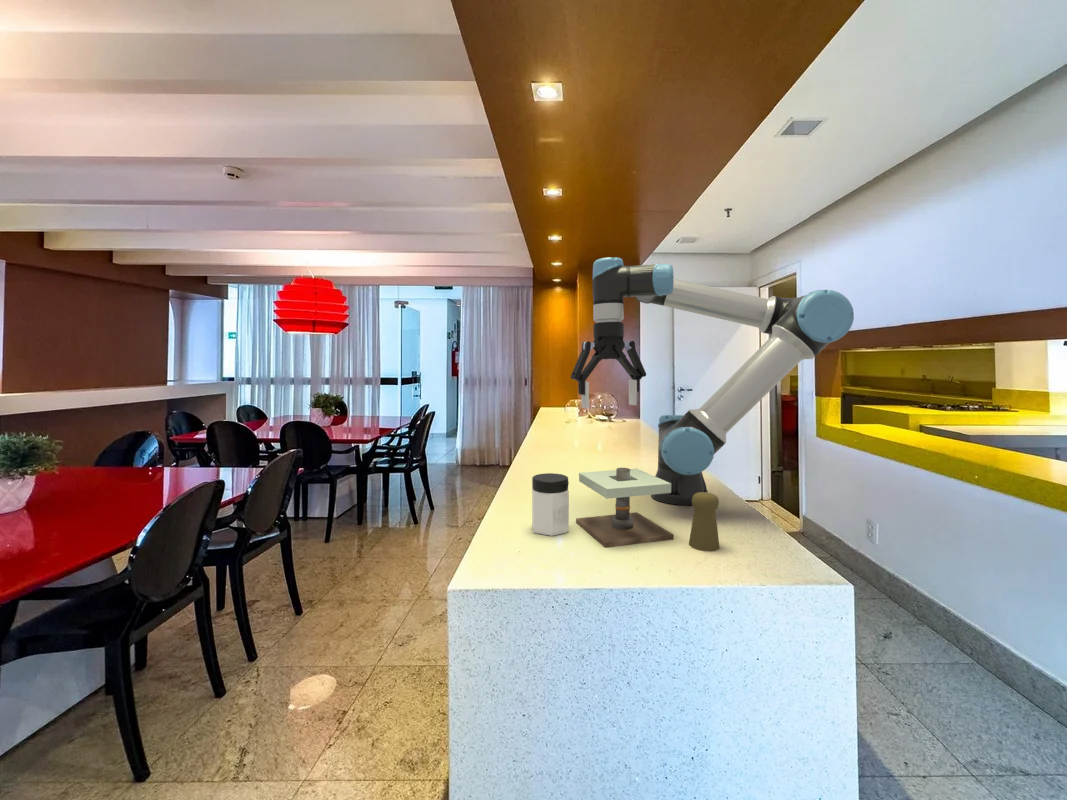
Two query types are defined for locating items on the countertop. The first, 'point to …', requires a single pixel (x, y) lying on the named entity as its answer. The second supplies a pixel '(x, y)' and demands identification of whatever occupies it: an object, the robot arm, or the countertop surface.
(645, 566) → the countertop surface
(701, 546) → the cork
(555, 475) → the jar
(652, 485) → the square plate with hole
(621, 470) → the post
